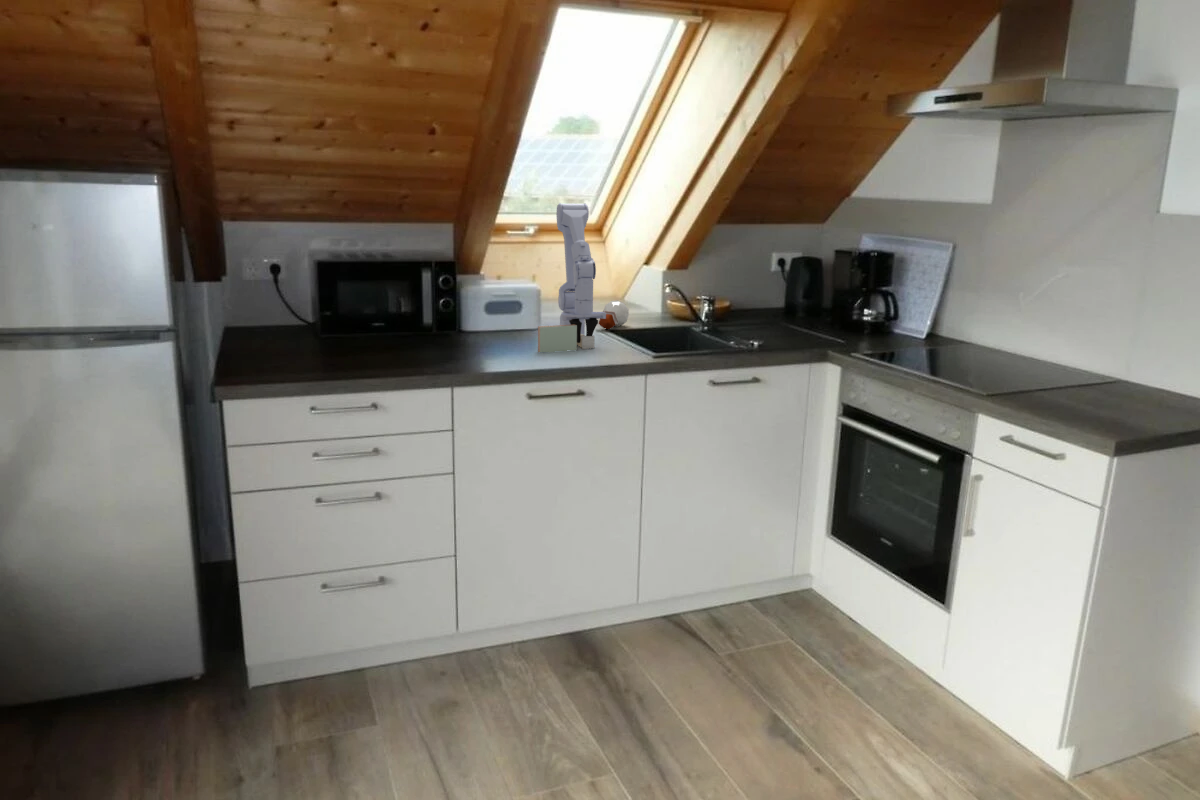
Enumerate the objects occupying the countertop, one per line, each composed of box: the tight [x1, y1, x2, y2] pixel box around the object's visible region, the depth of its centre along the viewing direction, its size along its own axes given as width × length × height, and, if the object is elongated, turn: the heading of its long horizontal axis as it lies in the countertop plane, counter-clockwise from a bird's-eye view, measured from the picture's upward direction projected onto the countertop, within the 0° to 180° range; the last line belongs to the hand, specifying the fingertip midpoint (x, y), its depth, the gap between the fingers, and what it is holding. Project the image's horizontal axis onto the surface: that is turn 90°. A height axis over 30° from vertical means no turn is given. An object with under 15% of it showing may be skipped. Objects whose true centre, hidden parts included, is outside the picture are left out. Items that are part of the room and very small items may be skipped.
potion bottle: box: [598, 300, 630, 330], centre depth 313 cm, size 9×10×15 cm
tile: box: [537, 324, 578, 353], centre depth 271 cm, size 2×12×8 cm, turn 113°
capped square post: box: [577, 334, 596, 350], centre depth 280 cm, size 11×4×4 cm, turn 23°
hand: (583, 341), depth 279 cm, fingers closed on capped square post, 3 cm apart
